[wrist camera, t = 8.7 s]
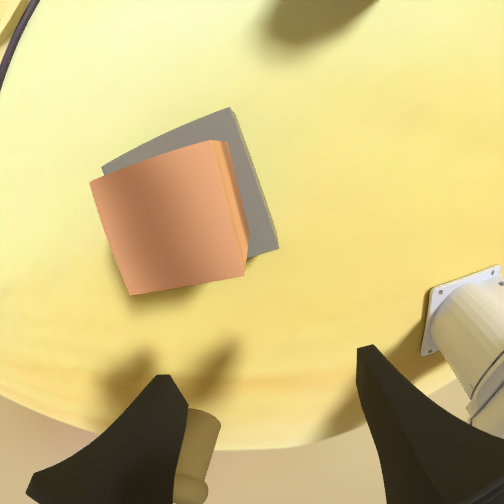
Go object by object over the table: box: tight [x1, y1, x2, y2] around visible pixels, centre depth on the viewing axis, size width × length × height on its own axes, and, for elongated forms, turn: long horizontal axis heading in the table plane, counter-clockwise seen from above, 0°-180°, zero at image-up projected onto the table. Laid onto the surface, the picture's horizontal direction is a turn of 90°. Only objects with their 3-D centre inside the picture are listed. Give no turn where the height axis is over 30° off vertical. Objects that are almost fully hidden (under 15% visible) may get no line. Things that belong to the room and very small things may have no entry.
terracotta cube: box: [89, 140, 250, 296], centre depth 12 cm, size 5×5×5 cm
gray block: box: [101, 107, 279, 258], centre depth 16 cm, size 8×8×4 cm
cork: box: [173, 409, 221, 504], centre depth 22 cm, size 6×6×11 cm
